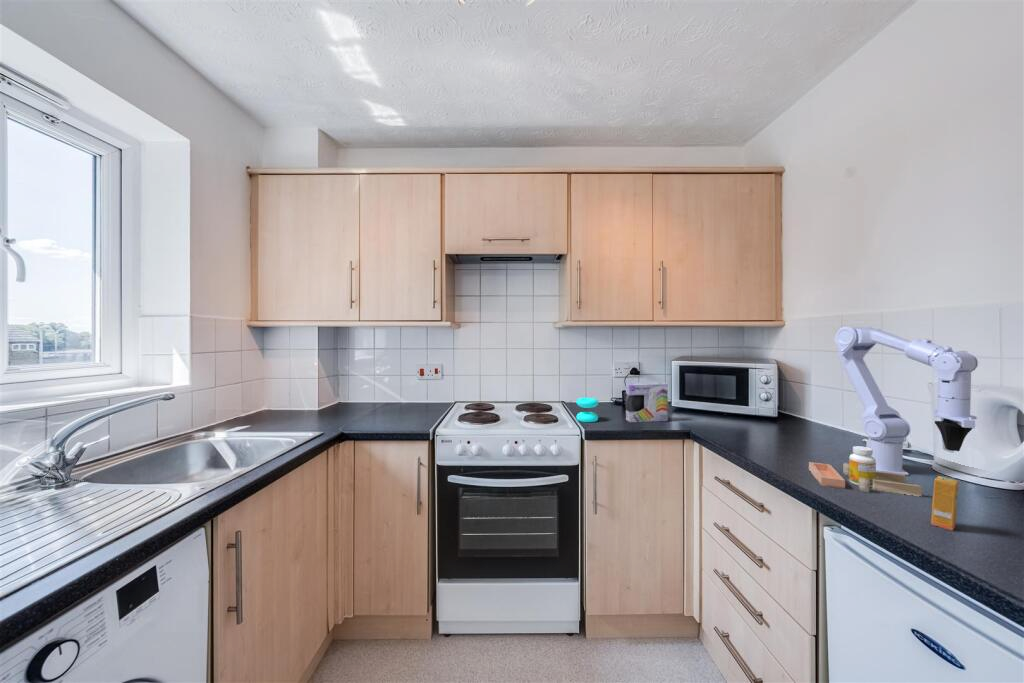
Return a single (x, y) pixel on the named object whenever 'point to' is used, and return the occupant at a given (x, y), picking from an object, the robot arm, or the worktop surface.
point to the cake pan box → (646, 402)
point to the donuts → (587, 404)
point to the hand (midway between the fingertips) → (952, 450)
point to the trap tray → (826, 475)
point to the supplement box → (944, 502)
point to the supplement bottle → (862, 465)
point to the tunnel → (887, 483)
